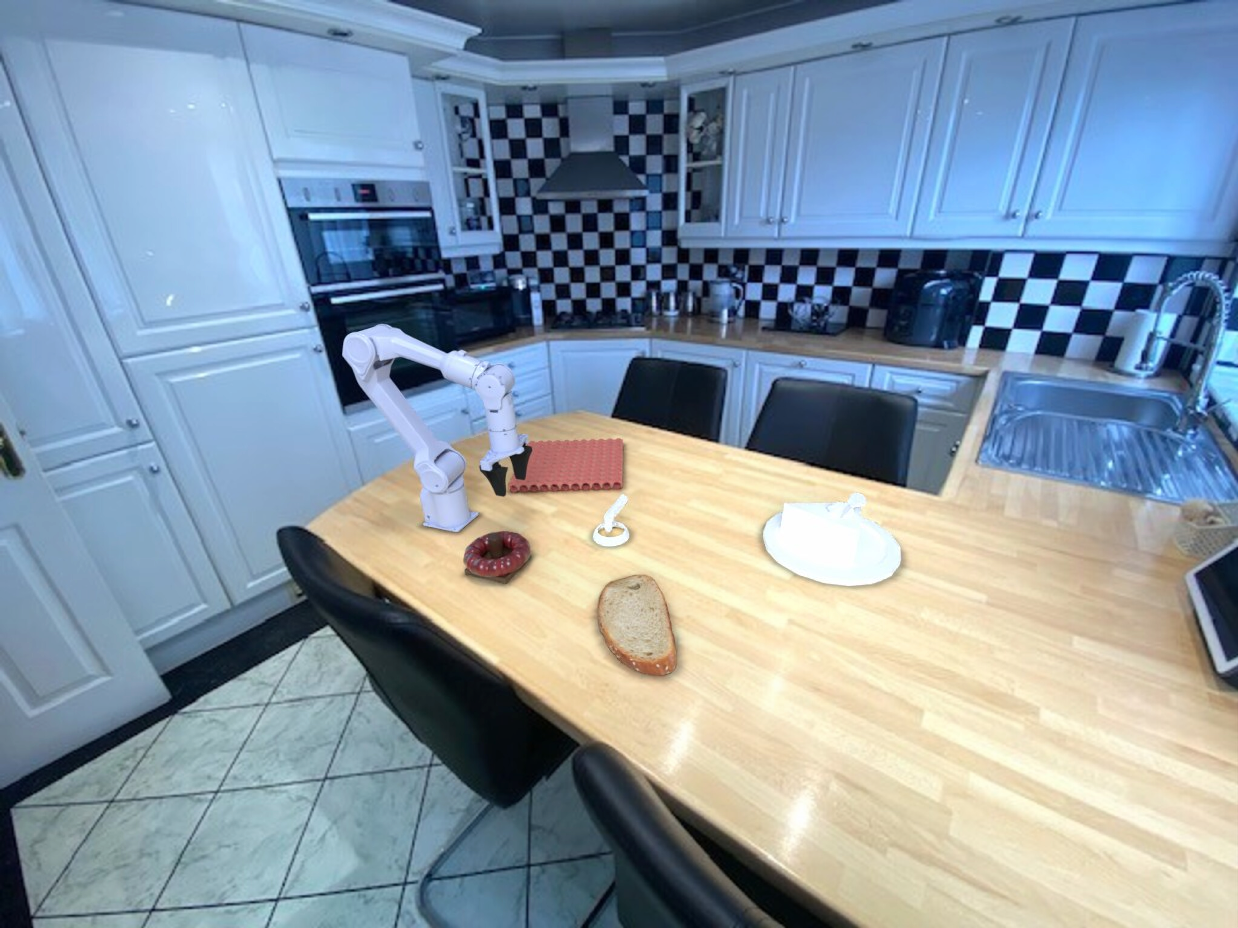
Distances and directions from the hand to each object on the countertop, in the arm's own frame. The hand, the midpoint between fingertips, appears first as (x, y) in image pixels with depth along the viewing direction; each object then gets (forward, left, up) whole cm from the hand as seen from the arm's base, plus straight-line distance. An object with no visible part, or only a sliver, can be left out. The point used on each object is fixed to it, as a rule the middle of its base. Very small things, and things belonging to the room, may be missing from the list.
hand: (511, 486), depth 107 cm
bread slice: (+36, -20, -10) cm, 42 cm away
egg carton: (-1, +30, -10) cm, 32 cm away
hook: (+22, +2, -10) cm, 24 cm away
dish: (+64, +12, -10) cm, 65 cm away
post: (+5, -14, -9) cm, 17 cm away
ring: (+5, -14, -7) cm, 16 cm away
